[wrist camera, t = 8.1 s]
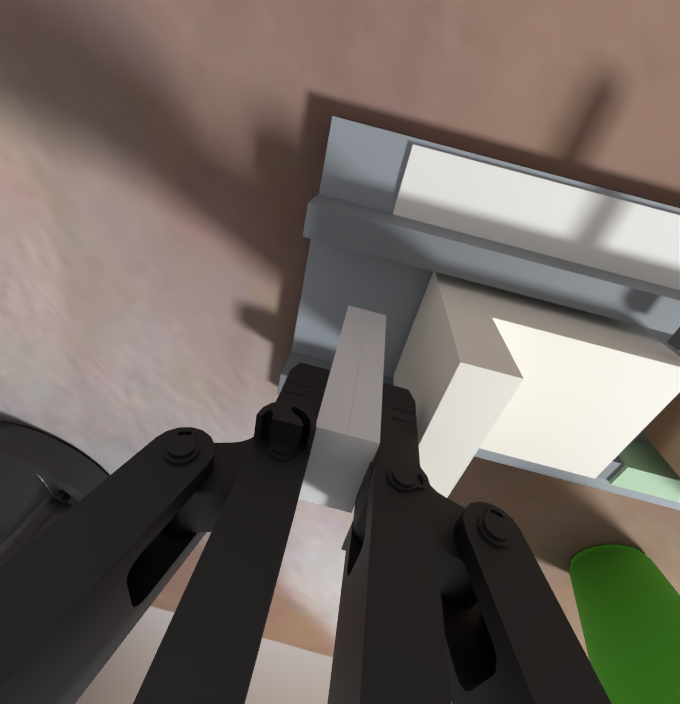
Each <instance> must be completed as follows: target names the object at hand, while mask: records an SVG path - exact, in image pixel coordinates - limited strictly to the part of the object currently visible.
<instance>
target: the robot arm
mask: <svg viewBox="0 0 680 704" xmlns="http://www.w3.org/2000/svg"><path fill="white" fill-rule="evenodd" d="M385 332H386V315H383V314H379V313H375V312H372V311H368V310H364V309H360V308H356V307H353V306H349V305H348V309H347V312H346V316H345V320H344V323H343V327H342V331H341V334H340V338H339V342H338V345H337V349H336V353H335V356H334V360H333V364H332V367H331V370H328V369H324V368H321V367H317V366H313V365H309V364H305V363H302V362H300V363H299V364H298V365H296V366H295V367H293V368H292V369H291V370H290V371H289V374H288V376H287V378H286V380H285V383H284V385H283V387H282V389H281V392H280V394H279V396H278V398H277V401H276V402H274V403H271V404H269V405H267V406H265V407H263V408H262V409H261V410H260V411H259V413H258V414H257V417H256V425H255V433H254V437H253V438H251V439H249V440H245V441H242V442H234V443H214V442H213V440H212V438H211V436H209V435H208V434H207V433H205V432H204V431H203V430H199V429H196V428H192V427H180V428H176V429H172V430H169V431H166V432H165V433H163V434H161V435H160V436H158V437H156V438H155V439H154V440H153V441H151V442H150V443H149V444H148V445H147V446H145V447H144V448H143V449H142V450H140V451H139V452H138V453H137V454H136V455H134V456H133V457H132V458H131V459H130V460H128V461H127V462H126V463H125V464H124V465H122V466H121V467H120V468H119V469H118V470H116V471H115V472H114V473H113V474H111V475H110V476H108V475H107V474H106V473H105V472H104V471H102V470H101V469H100V468H99V467H98V466H97V465H95V464H94V463H93V462H92V461H90V460H89V459H88V458H86V457H85V456H83V455H82V454H80V453H79V452H77V451H76V450H74V449H72V448H71V447H69V446H67V445H65V444H64V443H62V442H60V441H58V440H56V439H54V438H52V437H49V436H47V435H45V434H42V433H40V432H37V431H35V430H32V429H29V428H26V427H22V426H19V425H14V424H10V423H5V422H0V704H75V703H76V702H77V700H78V699H79V697H80V696H81V695H82V694H83V692H84V691H85V690H86V689H87V687H88V686H89V685H90V683H91V682H92V681H93V679H94V678H95V677H96V676H97V674H98V673H99V672H100V670H101V669H102V668H103V666H104V665H105V664H106V663H107V661H108V660H109V659H110V657H111V656H112V655H113V653H114V652H115V651H116V650H117V648H118V647H119V645H120V644H121V643H122V642H123V640H124V639H125V638H126V636H127V635H128V634H129V633H130V631H131V630H132V629H133V627H134V626H135V625H136V623H137V622H138V621H139V620H140V618H141V617H142V616H143V614H144V613H145V611H146V610H147V609H148V608H149V607H150V605H151V604H152V603H153V601H154V600H155V599H156V597H157V596H158V595H159V594H160V592H161V591H162V590H163V588H164V587H165V586H166V584H167V583H168V582H169V581H170V579H171V578H172V577H173V575H174V574H175V573H176V571H177V570H178V569H179V568H180V566H181V565H182V564H183V562H184V561H185V560H186V558H187V557H188V556H189V554H190V553H191V552H192V551H193V549H194V548H195V547H196V545H197V544H198V543H199V541H200V540H201V539H202V538H203V536H204V535H205V534H206V532H211V535H210V537H209V539H208V541H207V543H206V546H205V548H204V550H203V552H202V554H201V557H200V559H199V561H198V563H197V565H196V567H195V570H194V572H193V574H192V576H191V578H190V581H189V583H188V585H187V587H186V589H185V591H184V594H183V596H182V598H181V600H180V602H179V605H178V607H177V609H176V611H175V613H174V615H173V618H172V620H171V622H170V624H169V626H168V629H167V631H166V633H165V635H164V638H163V640H162V642H161V644H160V646H159V648H158V650H157V653H156V655H155V657H154V659H153V662H152V664H151V666H150V668H149V670H148V672H147V674H146V677H145V679H144V681H143V683H142V685H141V688H140V690H139V692H138V694H137V696H136V699H135V701H134V703H133V704H245V700H246V697H247V693H248V689H249V685H250V681H251V678H252V674H253V670H254V666H255V662H256V659H257V655H258V651H259V647H260V643H261V639H262V636H263V632H264V628H265V624H266V620H267V617H268V613H269V609H270V605H271V601H272V598H273V594H274V590H275V586H276V582H277V579H278V575H279V571H280V567H281V563H282V559H283V556H284V552H285V548H286V544H287V540H288V537H289V533H290V529H291V525H292V521H293V518H294V514H295V510H296V506H297V502H298V499H300V500H304V501H308V502H312V503H316V504H320V505H323V506H327V507H331V508H335V509H339V510H343V511H346V512H350V513H351V512H352V510H353V507H354V505H355V510H354V519H353V522H352V524H351V527H350V529H349V531H348V534H347V536H346V538H345V541H344V543H343V546H342V550H346V556H345V564H344V572H343V581H342V589H341V597H340V605H339V614H338V622H337V630H336V639H335V647H334V655H333V664H332V672H331V680H330V689H329V697H328V704H612V703H611V701H610V699H609V697H608V696H607V694H606V692H605V690H604V688H603V686H602V684H601V682H600V680H599V678H598V677H597V675H596V673H595V671H594V669H593V667H592V665H591V663H590V661H589V659H588V658H587V656H586V654H585V652H584V650H583V648H582V646H581V644H580V642H579V640H578V639H577V637H576V635H575V633H574V631H573V629H572V627H571V625H570V623H569V621H568V620H567V618H566V616H565V614H564V612H563V610H562V608H561V606H560V604H559V602H558V601H557V599H556V597H555V595H554V593H553V591H552V589H551V587H550V585H549V583H548V582H547V580H546V578H545V576H544V574H543V572H542V570H541V568H540V566H539V564H538V563H537V561H536V559H535V557H534V555H533V553H532V551H531V549H530V547H529V545H528V544H527V542H526V540H525V538H524V536H523V534H522V532H521V530H520V529H519V528H518V526H517V525H516V523H515V522H514V520H513V519H512V518H511V517H509V516H508V515H507V514H506V513H505V512H504V511H503V510H501V509H499V508H498V507H496V506H494V505H492V504H489V503H484V502H475V503H471V504H470V505H469V506H468V507H467V508H466V509H465V508H464V507H462V506H460V505H458V504H456V503H455V502H453V501H451V500H449V499H448V498H446V497H444V496H443V495H441V494H440V493H438V492H437V491H436V490H435V489H434V488H433V487H432V486H431V485H430V483H429V479H428V477H427V475H426V474H425V472H424V471H423V470H422V468H421V467H420V458H419V445H418V431H417V426H416V425H417V417H416V404H415V400H414V398H413V397H412V395H411V393H410V392H409V390H408V389H405V388H401V387H397V386H393V385H390V384H386V383H383V371H384V351H385ZM451 701H452V703H451Z"/></svg>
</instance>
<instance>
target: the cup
mask: <svg viewBox="0 0 680 704" xmlns="http://www.w3.org/2000/svg"><path fill="white" fill-rule="evenodd" d="M569 573H570V577H571V582H572V586H573V590H574V595H575V599H576V604H577V608H578V612H579V617H580V621H581V625H582V630H583V634H584V638H585V643H586V647H587V651H588V656H589V660H590V663H591V665H592V667H593V669H594V671H595V673H596V675H597V677H598V678H599V680H600V682H601V684H602V686H603V688H604V690H605V692H606V694H607V696H608V697H609V699H610V701H611V703H612V704H680V595H679V594H678V593H677V591H676V590H675V589H674V588H673V586H672V585H671V584H670V583H669V581H668V580H667V579H666V578H665V576H664V575H663V574H662V573H661V571H660V570H659V569H658V568H657V566H656V565H655V564H654V563H653V561H652V560H651V559H650V558H648V557H647V556H645V555H644V554H643V553H642V552H641V551H639V550H638V549H635V548H633V547H630V546H625V545H615V544H610V545H600V546H594V547H591V548H588V549H585V550H583V551H581V552H579V553H577V554H576V555H575V556H574V557H573V558H572V560H571V562H570V571H569Z"/></svg>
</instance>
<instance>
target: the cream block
mask: <svg viewBox="0 0 680 704" xmlns="http://www.w3.org/2000/svg"><path fill="white" fill-rule="evenodd" d="M667 343H669V344H670V345H671V346H673V347H674V348H675V349H676V350H678V351H680V327H679V328H678V329H677V331H676V332H675V333H674V334H673V335H672V336H671V338H670V339H669V340H668V341H667ZM393 386H397V387H401V388H405V389H408V390H409V392H410V393H411V395H412V397H413V398H414V400H415V404H416V417H417V425H416V426H417V431H418V445H419V458H420V467H421V468H422V470H423V471H424V472H425V474H426V475H427V477H428V479H429V483H430V485H431V486H432V487H433V488H434V489H435V490H436V491H437V492H438V493H440V494H441V495H443V496H444V497H446V498H447V497H448V496H449V494H450V493H451V491H452V490H453V488H454V486H455V485H456V483H457V482H458V480H459V479H460V477H461V476H462V474H463V473H464V471H465V469H466V468H467V466H468V465H469V463H470V462H471V460H472V459H473V457H474V455H475V454H476V452H477V451H478V449H479V448H480V449H484V450H488V451H492V452H495V453H499V454H503V455H507V456H511V457H514V458H518V459H522V460H526V461H530V462H533V463H537V464H541V465H545V466H549V467H553V468H556V469H560V470H564V471H568V472H572V473H575V474H579V475H583V476H587V477H591V478H594V479H595V478H596V477H597V476H598V475H599V474H600V473H601V472H602V471H603V470H604V469H605V468H606V467H607V466H608V465H609V464H610V463H611V462H612V461H613V460H614V459H615V458H616V457H617V456H618V455H619V454H620V453H621V452H622V451H623V450H624V449H625V447H626V446H627V445H628V444H629V443H630V442H631V441H632V440H633V439H634V438H635V437H636V436H637V435H638V434H639V433H640V432H641V431H642V430H643V429H644V428H645V427H646V426H647V425H648V424H649V423H650V422H651V421H652V420H653V419H654V418H655V417H656V416H657V415H658V414H659V413H660V412H661V411H662V410H663V409H664V408H665V407H666V406H667V405H668V404H669V403H670V402H671V401H672V400H673V399H674V398H675V397H676V396H677V394H678V393H679V392H680V356H678V355H677V354H676V353H674V352H673V351H672V350H671V349H669V348H668V347H667V346H666V345H664V344H663V343H662V342H661V341H659V340H658V339H657V338H655V337H654V336H653V335H652V334H650V333H649V332H648V331H647V330H645V329H644V328H643V327H642V326H639V325H635V324H631V323H627V322H623V321H620V320H616V319H612V318H608V317H605V316H601V315H597V314H593V313H589V312H586V311H582V310H578V309H574V308H571V307H567V306H563V305H559V304H555V303H552V302H548V301H544V300H540V299H536V298H533V297H529V296H525V295H521V294H518V293H514V292H510V291H506V290H502V289H499V288H495V287H491V286H487V285H484V284H480V283H476V282H472V281H468V280H465V279H461V278H457V277H453V276H449V275H446V274H442V273H438V272H434V271H433V273H432V276H431V279H430V281H429V284H428V286H427V289H426V292H425V294H424V297H423V299H422V302H421V305H420V307H419V310H418V312H417V315H416V318H415V320H414V323H413V325H412V328H411V331H410V333H409V336H408V339H407V341H406V344H405V346H404V349H403V352H402V354H401V357H400V359H399V362H398V365H397V367H396V370H395V372H394V377H393Z"/></svg>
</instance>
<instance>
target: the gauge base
mask: <svg viewBox="0 0 680 704" xmlns="http://www.w3.org/2000/svg"><path fill="white" fill-rule="evenodd" d="M303 237H306V238H310V239H311V241H310V247H309V253H308V259H307V264H306V270H305V276H304V282H303V287H302V293H301V299H300V305H299V310H298V316H297V322H296V328H295V333H294V339H293V345H292V351H291V353H290V355H289V357H288V359H287V362H286V364H285V366H284V368H283V370H282V372H281V374H280V380H279V387H278V393H277V394H280V392H281V389H282V387H283V385H284V383H285V380H286V378H287V376H288V374H289V371H290V370H291V369H292V368H293V367H295V366H296V365H298V364H299V363H300V362H302V363H305V364H309V365H313V366H317V367H321V368H324V369H328V370H331V367H332V364H333V360H334V356H335V353H336V349H337V345H338V342H339V338H340V334H341V331H342V327H343V323H344V320H345V316H346V312H347V309H348V305H349V306H353V307H356V308H360V309H364V310H368V311H372V312H375V313H379V314H383V315H386V332H385V351H384V371H383V383H386V384H390V385H393V377H394V372H395V370H396V367H397V365H398V362H399V359H400V357H401V354H402V352H403V349H404V346H405V344H406V341H407V339H408V336H409V333H410V331H411V328H412V325H413V323H414V320H415V318H416V315H417V312H418V310H419V307H420V305H421V302H422V299H423V297H424V294H425V292H426V289H427V286H428V284H429V281H430V279H431V276H432V273H433V271H434V272H438V273H442V274H446V275H449V276H453V277H457V278H461V279H465V280H468V281H472V282H476V283H480V284H484V285H487V286H491V287H495V288H499V289H502V290H506V291H510V292H514V293H518V294H521V295H525V296H529V297H533V298H536V299H540V300H544V301H548V302H552V303H555V304H559V305H563V306H567V307H571V308H574V309H578V310H582V311H586V312H589V313H593V314H597V315H601V316H605V317H608V318H612V319H616V320H620V321H623V322H627V323H631V324H635V325H639V326H642V327H643V328H644V329H645V330H647V331H648V332H649V333H650V334H652V335H653V336H654V337H655V338H657V339H658V340H659V341H661V342H662V343H663V344H664V345H666V346H667V347H668V348H669V349H671V350H672V351H673V352H674V353H676V354H677V355H678V356H680V351H678V350H676V349H675V348H674V347H673V346H671V345H670V344H669V343H667V341H668V340H669V339H670V338H671V336H672V335H673V334H674V333H675V332H676V331H677V329H678V328H679V327H680V208H677V207H673V206H669V205H665V204H662V203H658V202H654V201H650V200H646V199H643V198H639V197H635V196H631V195H628V194H624V193H620V192H616V191H613V190H609V189H605V188H601V187H598V186H594V185H590V184H586V183H583V182H579V181H575V180H571V179H568V178H564V177H560V176H556V175H553V174H549V173H545V172H541V171H538V170H534V169H530V168H526V167H522V166H519V165H515V164H511V163H507V162H504V161H500V160H496V159H492V158H489V157H485V156H481V155H477V154H474V153H470V152H466V151H462V150H459V149H455V148H451V147H447V146H444V145H440V144H436V143H432V142H429V141H425V140H421V139H417V138H414V137H410V136H406V135H402V134H398V133H395V132H391V131H387V130H383V129H380V128H376V127H372V126H368V125H365V124H361V123H357V122H353V121H350V120H346V119H342V118H338V117H335V116H332V121H331V127H330V132H329V138H328V144H327V150H326V155H325V161H324V167H323V173H322V178H321V184H320V190H319V194H318V195H317V196H315V197H314V198H313V199H312V200H310V201H309V202H308V206H307V212H306V219H305V225H304V231H303ZM474 456H475V457H479V458H482V459H486V460H490V461H494V462H498V463H501V464H505V465H509V466H513V467H517V468H521V469H524V470H528V471H532V472H536V473H540V474H543V475H547V476H551V477H555V478H559V479H563V480H566V481H570V482H574V483H578V484H582V485H585V486H589V487H593V488H597V489H601V490H604V491H608V492H612V493H616V494H620V495H624V496H627V497H631V498H635V499H639V500H643V501H646V502H650V503H654V504H658V505H662V506H666V507H669V508H673V509H677V510H680V477H679V476H678V475H677V474H676V472H675V471H674V470H673V469H672V467H671V466H670V465H669V464H668V463H667V461H666V460H665V459H664V458H663V457H662V455H661V454H660V453H659V452H658V450H657V449H656V448H655V447H654V446H653V444H652V443H651V442H650V441H649V440H648V438H647V437H646V436H645V435H644V433H643V432H642V431H641V432H640V433H639V434H638V435H637V436H636V437H635V438H634V439H633V440H632V441H631V442H630V443H629V444H628V445H627V446H626V447H625V449H624V450H623V451H622V452H621V453H620V454H619V455H618V456H617V457H616V458H615V459H614V460H613V461H612V462H611V463H610V464H609V465H608V466H607V467H606V468H605V469H604V470H603V471H602V472H601V473H600V474H599V475H598V476H597V477H596V478H595V479H594V478H591V477H587V476H583V475H579V474H575V473H572V472H568V471H564V470H560V469H556V468H553V467H549V466H545V465H541V464H537V463H533V462H530V461H526V460H522V459H518V458H514V457H511V456H507V455H503V454H499V453H495V452H492V451H488V450H484V449H480V448H479V449H478V451H477V452H476V454H475V455H474Z"/></svg>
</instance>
